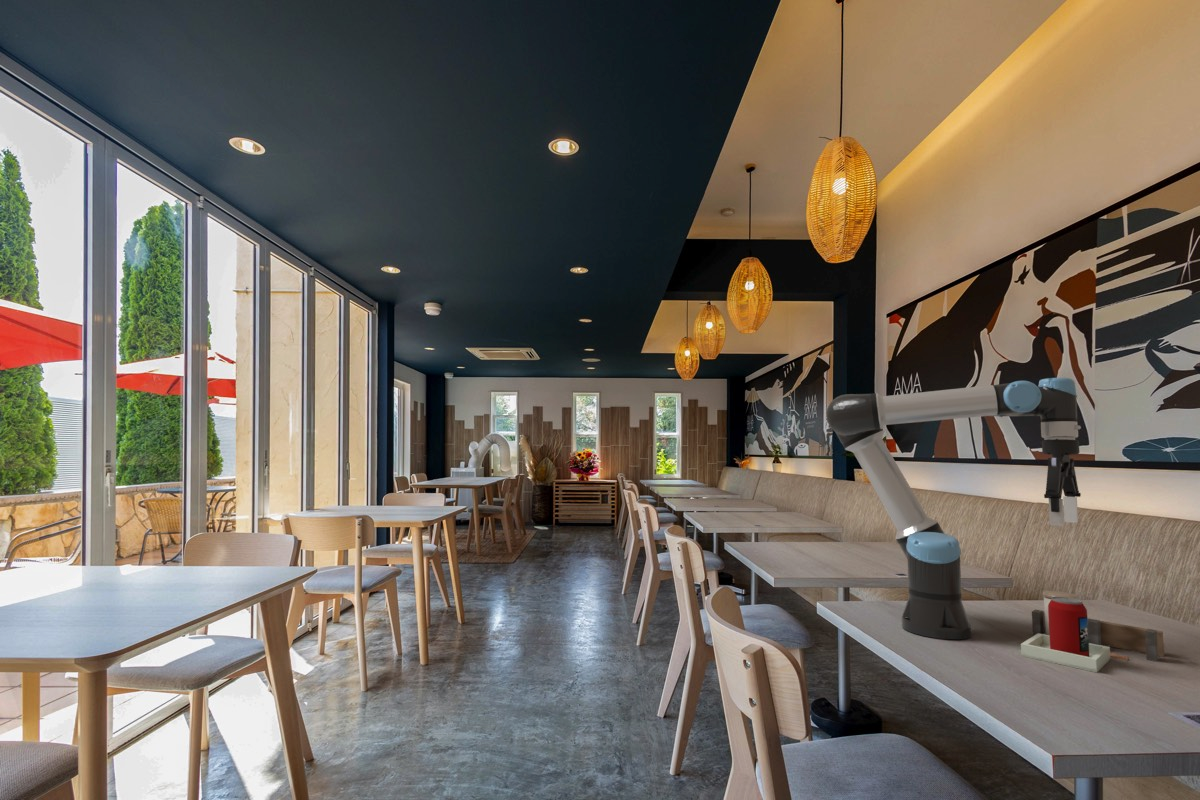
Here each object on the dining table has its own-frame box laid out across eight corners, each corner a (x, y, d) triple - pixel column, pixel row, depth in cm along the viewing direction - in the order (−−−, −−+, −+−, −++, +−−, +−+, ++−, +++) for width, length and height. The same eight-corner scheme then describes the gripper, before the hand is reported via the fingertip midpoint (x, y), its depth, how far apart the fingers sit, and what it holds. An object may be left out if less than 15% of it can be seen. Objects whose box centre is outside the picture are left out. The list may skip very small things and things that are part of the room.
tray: (1021, 655, 133) (1020, 644, 133) (1038, 644, 142) (1038, 633, 142) (1096, 672, 123) (1096, 659, 124) (1110, 659, 132) (1109, 647, 132)
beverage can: (1095, 663, 127) (1092, 604, 128) (1057, 659, 129) (1054, 601, 130) (1081, 653, 134) (1078, 597, 135) (1045, 650, 136) (1042, 594, 137)
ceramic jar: (1041, 640, 144) (1039, 593, 145) (1049, 635, 149) (1047, 589, 150) (1077, 647, 139) (1074, 598, 140) (1084, 642, 144) (1081, 594, 145)
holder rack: (1025, 639, 145) (1024, 613, 145) (1040, 630, 153) (1038, 606, 153) (1155, 666, 128) (1153, 636, 128) (1164, 654, 135) (1162, 626, 136)
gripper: (1065, 437, 144) (1070, 529, 142) (1090, 440, 160) (1094, 522, 158) (1027, 437, 149) (1031, 525, 147) (1055, 440, 166) (1059, 519, 164)
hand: (1064, 524), depth 153 cm, fingers open, 13 cm apart
